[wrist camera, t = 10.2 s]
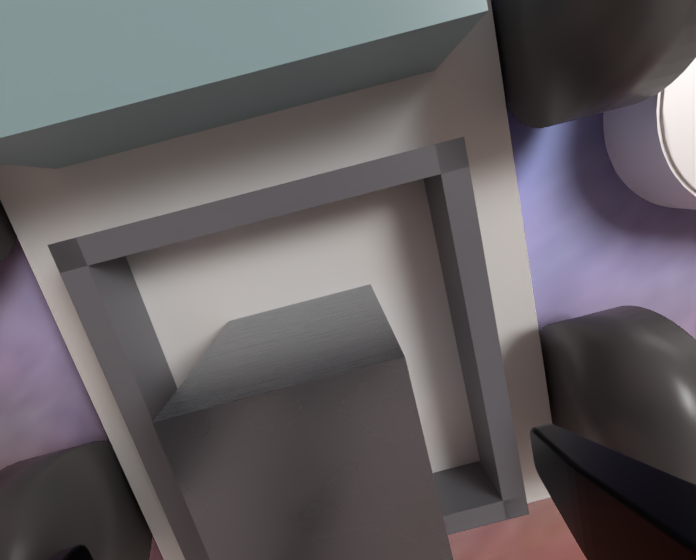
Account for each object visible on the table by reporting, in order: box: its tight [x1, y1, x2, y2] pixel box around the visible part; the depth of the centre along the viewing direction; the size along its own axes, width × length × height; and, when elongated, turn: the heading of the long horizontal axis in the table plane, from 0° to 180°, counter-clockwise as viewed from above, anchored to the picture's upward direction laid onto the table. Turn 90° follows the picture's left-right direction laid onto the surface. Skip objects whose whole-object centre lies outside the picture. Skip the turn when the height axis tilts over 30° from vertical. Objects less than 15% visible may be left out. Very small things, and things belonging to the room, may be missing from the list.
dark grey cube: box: [152, 284, 453, 560], centre depth 11 cm, size 5×5×6 cm
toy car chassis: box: [0, 0, 696, 560], centre depth 11 cm, size 21×22×6 cm
